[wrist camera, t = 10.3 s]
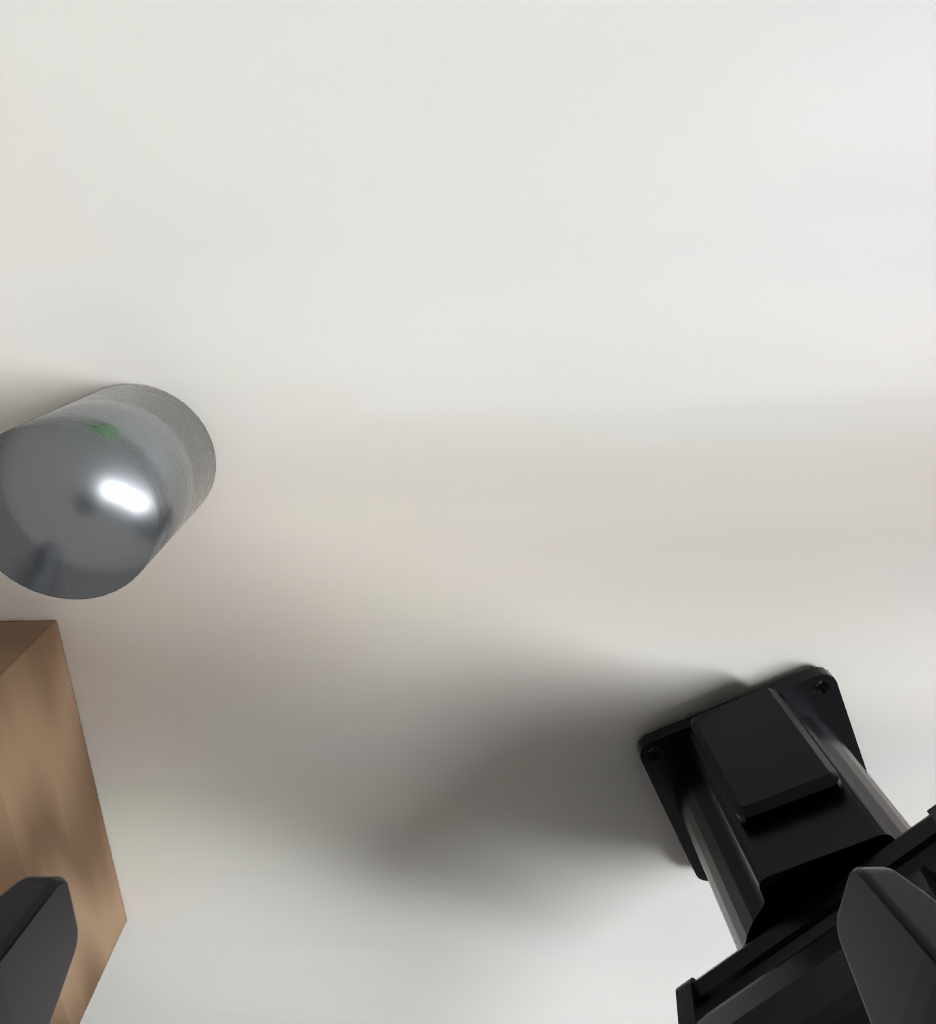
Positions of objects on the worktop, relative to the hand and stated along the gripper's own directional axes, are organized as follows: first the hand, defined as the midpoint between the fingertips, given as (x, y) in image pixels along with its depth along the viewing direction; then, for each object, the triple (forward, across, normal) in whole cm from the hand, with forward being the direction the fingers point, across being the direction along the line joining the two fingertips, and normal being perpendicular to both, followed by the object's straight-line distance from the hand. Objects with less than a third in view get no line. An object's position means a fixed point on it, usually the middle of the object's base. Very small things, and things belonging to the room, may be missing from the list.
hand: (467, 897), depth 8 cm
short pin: (+13, +8, -1) cm, 16 cm away
